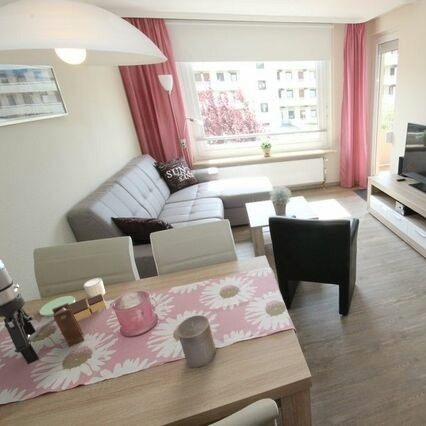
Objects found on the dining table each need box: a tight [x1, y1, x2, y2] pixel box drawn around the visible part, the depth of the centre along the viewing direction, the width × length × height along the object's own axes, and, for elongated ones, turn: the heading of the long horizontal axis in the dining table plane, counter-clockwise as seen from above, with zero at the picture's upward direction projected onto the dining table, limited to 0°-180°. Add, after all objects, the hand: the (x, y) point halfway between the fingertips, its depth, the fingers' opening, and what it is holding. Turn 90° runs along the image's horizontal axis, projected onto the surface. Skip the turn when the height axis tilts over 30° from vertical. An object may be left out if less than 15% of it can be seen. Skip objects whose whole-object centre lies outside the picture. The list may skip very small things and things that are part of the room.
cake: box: [69, 298, 92, 322], centre depth 119 cm, size 8×8×5 cm
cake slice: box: [86, 294, 107, 314], centre depth 124 cm, size 5×5×5 cm
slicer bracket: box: [52, 303, 85, 348], centre depth 105 cm, size 10×8×16 cm
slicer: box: [26, 307, 66, 344], centre depth 100 cm, size 14×6×2 cm, turn 132°
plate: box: [39, 295, 77, 318], centre depth 127 cm, size 12×12×1 cm
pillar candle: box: [176, 315, 217, 368], centre depth 98 cm, size 10×10×15 cm
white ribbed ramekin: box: [82, 277, 106, 298], centre depth 132 cm, size 7×7×7 cm
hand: (33, 348), depth 100 cm, fingers open, 13 cm apart
